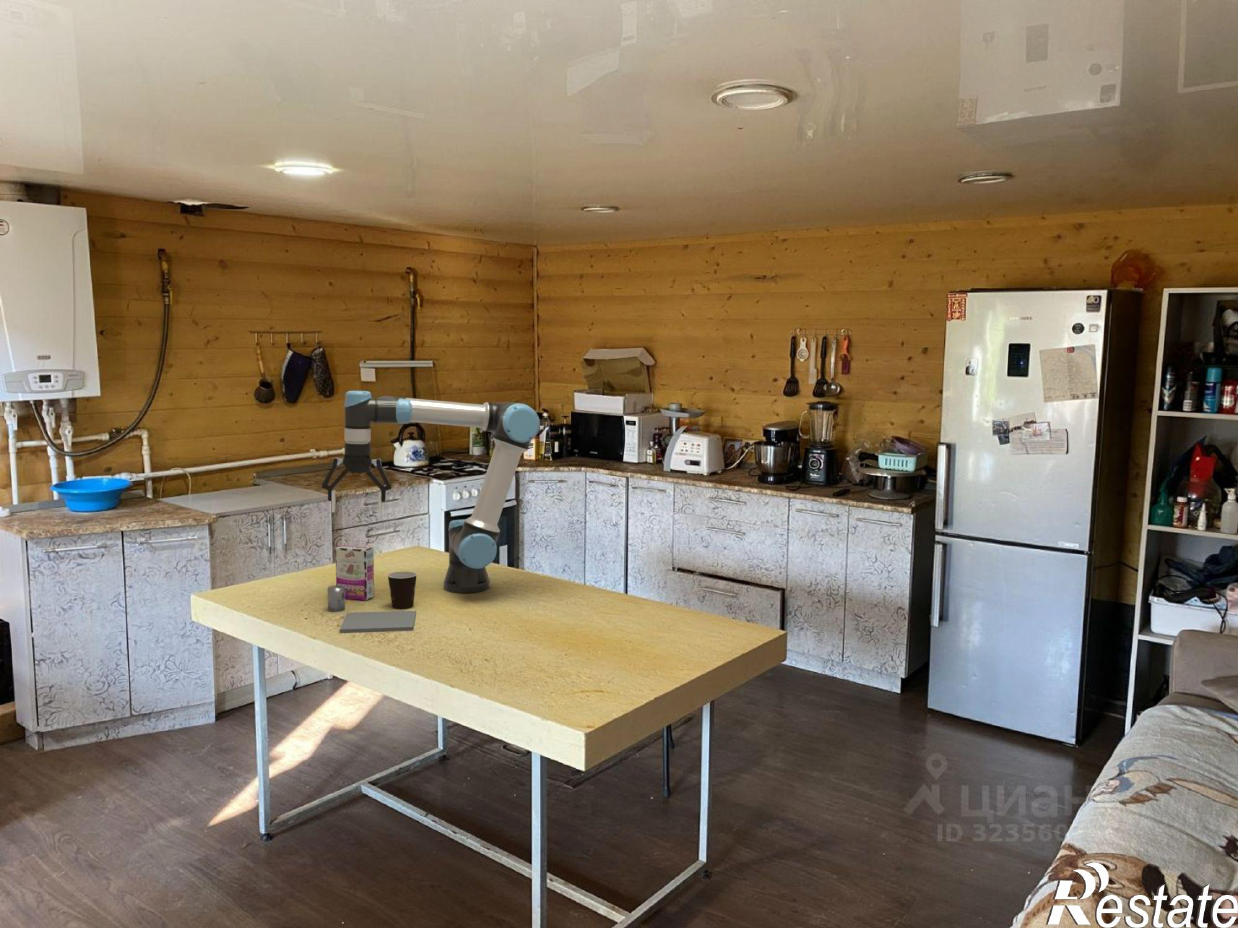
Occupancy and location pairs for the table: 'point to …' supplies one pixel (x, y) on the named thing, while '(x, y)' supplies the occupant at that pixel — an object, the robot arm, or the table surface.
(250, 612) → the table surface
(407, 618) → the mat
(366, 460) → the robot arm
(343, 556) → the candy bar box
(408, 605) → the coffee mug
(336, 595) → the metal canister
